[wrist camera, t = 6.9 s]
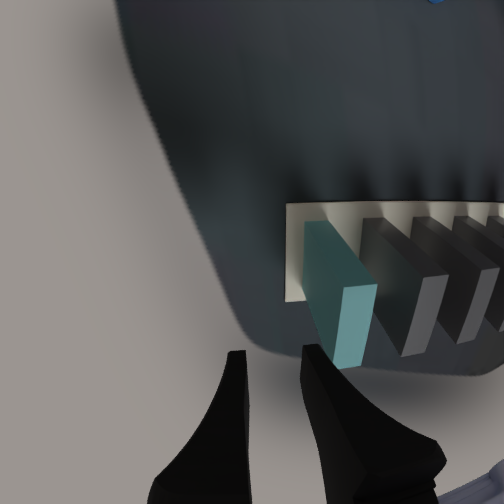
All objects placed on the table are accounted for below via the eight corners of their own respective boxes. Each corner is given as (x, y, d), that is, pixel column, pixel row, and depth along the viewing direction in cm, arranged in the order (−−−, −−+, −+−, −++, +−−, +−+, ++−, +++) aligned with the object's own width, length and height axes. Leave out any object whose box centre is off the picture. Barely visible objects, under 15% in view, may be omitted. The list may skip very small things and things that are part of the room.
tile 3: (430, 216, 21) (500, 267, 14) (419, 276, 23) (474, 339, 16) (413, 216, 21) (481, 270, 14) (402, 278, 23) (456, 344, 16)
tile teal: (328, 220, 21) (377, 284, 13) (324, 286, 23) (360, 365, 16) (304, 221, 20) (343, 287, 13) (302, 288, 23) (331, 369, 15)
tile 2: (384, 217, 21) (448, 274, 14) (375, 281, 23) (424, 352, 16) (363, 217, 21) (423, 277, 13) (355, 283, 23) (401, 357, 16)
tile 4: (468, 215, 21) (536, 261, 14) (456, 272, 23) (512, 327, 16) (454, 216, 21) (523, 263, 14) (442, 273, 23) (498, 332, 16)
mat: (508, 203, 21) (509, 203, 21) (490, 276, 24) (491, 277, 24) (285, 203, 20) (286, 204, 20) (284, 300, 23) (285, 302, 23)
